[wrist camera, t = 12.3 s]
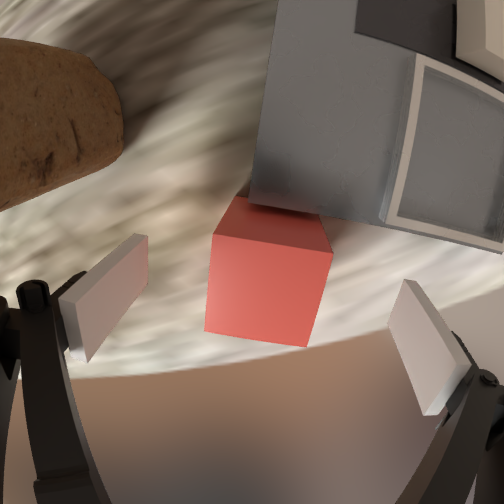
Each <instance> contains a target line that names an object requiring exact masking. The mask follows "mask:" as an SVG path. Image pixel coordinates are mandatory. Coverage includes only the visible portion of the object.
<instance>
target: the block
mask: <svg viewBox="0 0 504 504" xmlns="http://www.w3.org/2000/svg"><path fill="white" fill-rule="evenodd" d="M123 141H124V138H123V118H122V111H121V105H120V101H119V97H118V94H117V93H116V91H115V88H114V86H113V84H112V83H111V82H110V81H109V80H108V79H107V78H106V77H105V76H104V75H103V74H101V73H100V71H99V70H98V69H97V67H95V65H94V64H93V62H92V61H91V60H90V58H88V57H87V56H85V55H83V54H81V53H75V52H73V51H71V50H66V49H62V48H58V47H53V46H48V45H45V44H41V43H35V42H29V41H24V40H17V39H9V38H0V212H2V211H4V210H6V209H9V208H11V207H13V206H16V205H18V204H21V203H23V202H26V201H28V200H31V199H33V198H35V197H38V196H40V195H42V194H44V193H46V192H49V191H51V190H54V189H56V188H58V187H60V186H63V185H65V184H68V183H70V182H73V181H75V180H77V179H80V178H82V177H85V176H87V175H89V174H91V173H94V172H97V171H99V170H101V169H103V168H105V167H107V166H109V165H110V164H111V163H113V162H115V161H116V160H117V158H118V157H119V156H120V155H121V154H122V150H123Z"/></svg>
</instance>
